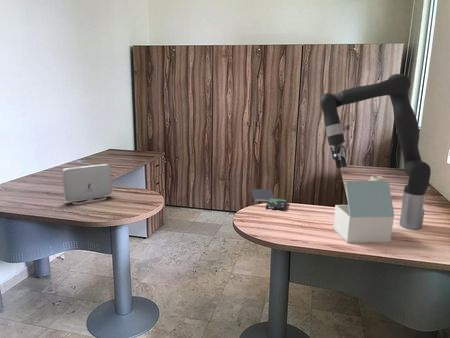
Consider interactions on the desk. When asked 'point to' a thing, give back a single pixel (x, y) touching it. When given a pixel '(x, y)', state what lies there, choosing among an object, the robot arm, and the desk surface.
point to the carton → (361, 227)
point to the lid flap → (369, 199)
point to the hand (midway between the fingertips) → (342, 167)
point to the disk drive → (276, 204)
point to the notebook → (262, 194)
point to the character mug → (376, 178)
